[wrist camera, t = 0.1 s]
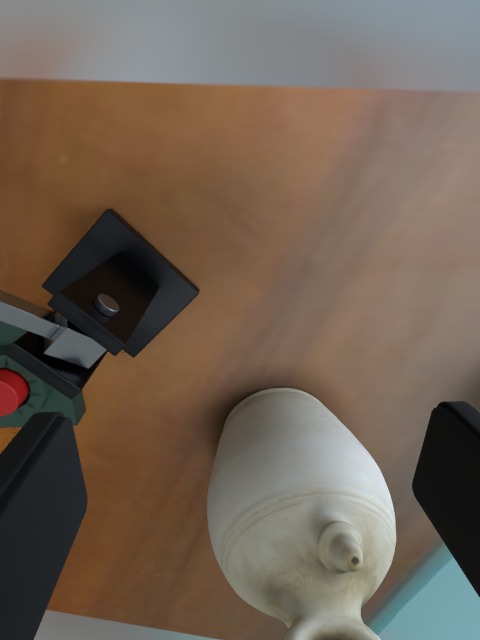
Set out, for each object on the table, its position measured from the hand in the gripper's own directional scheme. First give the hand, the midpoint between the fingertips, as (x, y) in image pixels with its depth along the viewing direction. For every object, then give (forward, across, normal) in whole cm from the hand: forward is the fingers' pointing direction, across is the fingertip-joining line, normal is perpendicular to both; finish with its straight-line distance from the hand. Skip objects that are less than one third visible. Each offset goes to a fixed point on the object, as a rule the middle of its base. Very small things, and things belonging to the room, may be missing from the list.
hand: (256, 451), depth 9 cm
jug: (+23, -6, +19) cm, 30 cm away
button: (+19, +19, +10) cm, 29 cm away
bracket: (+23, +9, +2) cm, 25 cm away
